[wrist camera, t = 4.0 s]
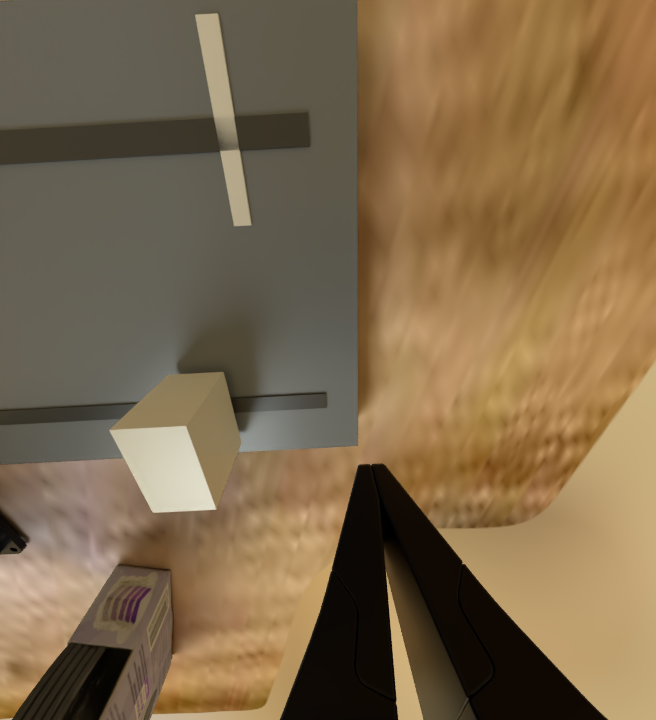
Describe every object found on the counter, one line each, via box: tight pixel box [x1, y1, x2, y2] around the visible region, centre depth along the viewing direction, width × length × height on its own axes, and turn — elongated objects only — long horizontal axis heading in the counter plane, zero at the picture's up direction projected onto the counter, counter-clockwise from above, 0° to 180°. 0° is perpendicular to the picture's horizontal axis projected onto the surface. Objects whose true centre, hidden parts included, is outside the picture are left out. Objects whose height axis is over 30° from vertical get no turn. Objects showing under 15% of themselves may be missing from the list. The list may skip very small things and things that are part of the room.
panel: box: [0, 0, 358, 465], centre depth 11 cm, size 16×26×2 cm, turn 93°
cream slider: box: [109, 372, 242, 513], centre depth 11 cm, size 4×2×4 cm, turn 3°
